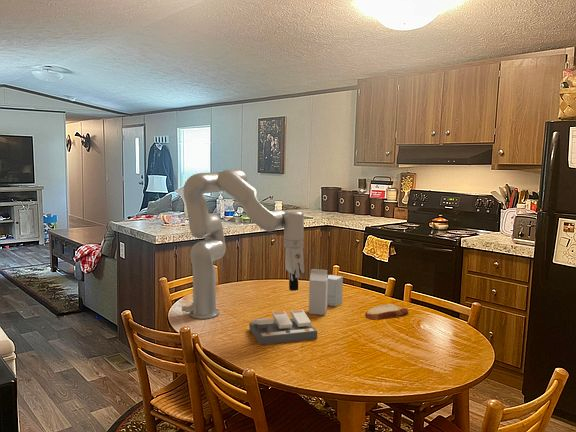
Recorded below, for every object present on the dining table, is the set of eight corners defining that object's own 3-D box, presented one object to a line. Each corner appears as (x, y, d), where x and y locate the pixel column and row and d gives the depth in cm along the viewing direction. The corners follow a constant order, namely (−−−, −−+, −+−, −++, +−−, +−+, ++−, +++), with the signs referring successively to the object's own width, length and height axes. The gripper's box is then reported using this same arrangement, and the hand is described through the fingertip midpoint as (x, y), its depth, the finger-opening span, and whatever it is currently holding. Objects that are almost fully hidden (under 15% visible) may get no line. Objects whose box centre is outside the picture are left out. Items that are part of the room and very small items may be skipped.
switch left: (260, 324, 178) (259, 320, 178) (253, 323, 187) (253, 318, 187) (273, 323, 179) (272, 318, 180) (266, 321, 189) (265, 317, 189)
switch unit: (260, 345, 175) (260, 333, 174) (249, 329, 190) (249, 319, 189) (317, 338, 181) (317, 327, 181) (302, 324, 196) (302, 314, 196)
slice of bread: (364, 319, 205) (364, 311, 204) (367, 307, 222) (368, 299, 222) (408, 324, 201) (408, 315, 200) (408, 310, 218) (408, 302, 217)
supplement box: (342, 303, 227) (343, 276, 225) (335, 307, 220) (336, 279, 219) (328, 300, 230) (329, 274, 229) (321, 304, 224) (321, 277, 223)
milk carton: (325, 315, 208) (326, 272, 206) (308, 314, 210) (309, 271, 207) (327, 310, 215) (328, 268, 213) (311, 309, 217) (312, 267, 214)
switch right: (298, 326, 183) (298, 323, 183) (290, 313, 192) (290, 309, 192) (310, 325, 185) (311, 321, 184) (302, 312, 194) (302, 308, 193)
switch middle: (279, 328, 181) (279, 324, 180) (271, 315, 190) (272, 311, 189) (292, 327, 182) (292, 323, 182) (284, 314, 191) (284, 310, 191)
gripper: (309, 246, 181) (309, 294, 183) (297, 240, 195) (296, 284, 197) (290, 247, 179) (290, 296, 181) (279, 240, 193) (279, 286, 195)
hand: (293, 289), depth 189 cm, fingers closed
